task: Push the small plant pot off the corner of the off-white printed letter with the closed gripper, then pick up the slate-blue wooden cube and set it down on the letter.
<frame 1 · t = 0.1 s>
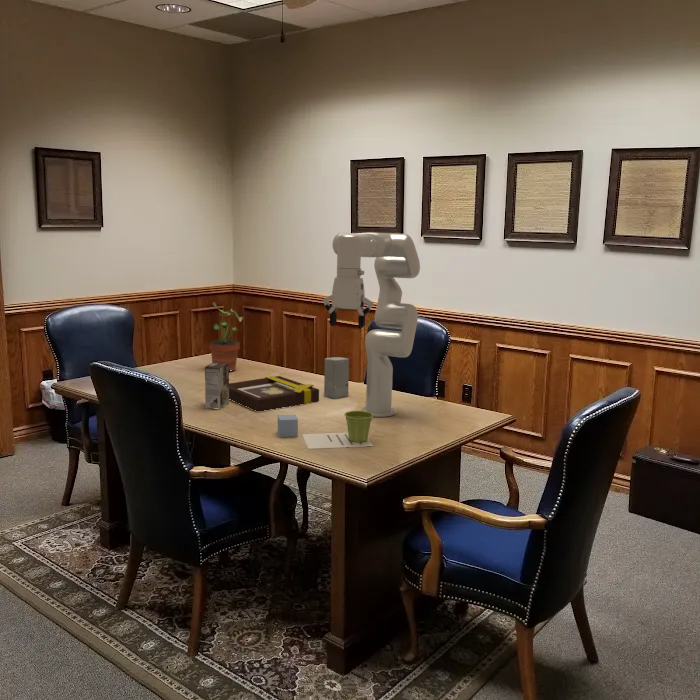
hand: (347, 326, 233), 37 cm above the table, tool pointing down, fingers open, 9 cm apart
skincare box: (336, 396, 293), on the table
coffee box: (217, 406, 273), on the table
cube: (287, 434, 241), on the table
brown gift box: (270, 400, 286), on the table
plant pot: (358, 440, 236), resting on letter
potted plant: (226, 371, 335), on the table
letter: (336, 440, 235), on the table
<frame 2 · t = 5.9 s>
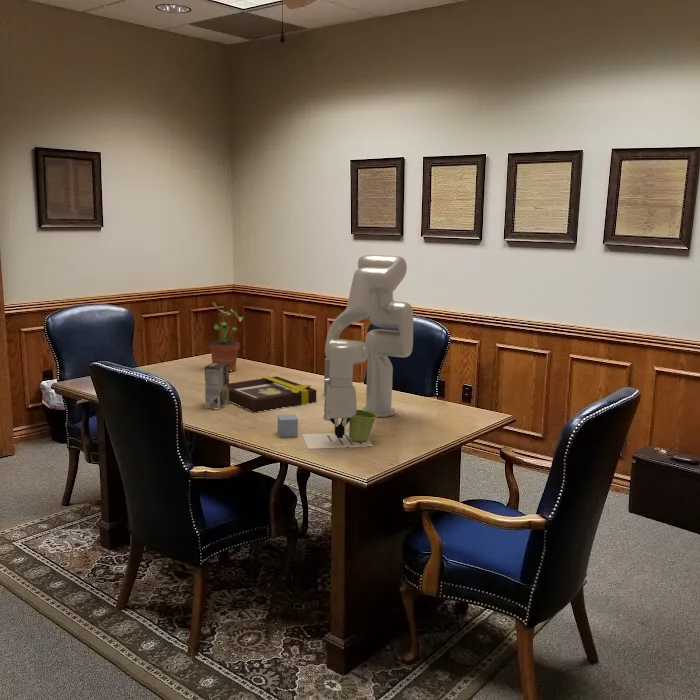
hand: (339, 437, 234), 2 cm above the table, tool pointing down, fingers closed
brown gift box: (267, 401, 285), on the table
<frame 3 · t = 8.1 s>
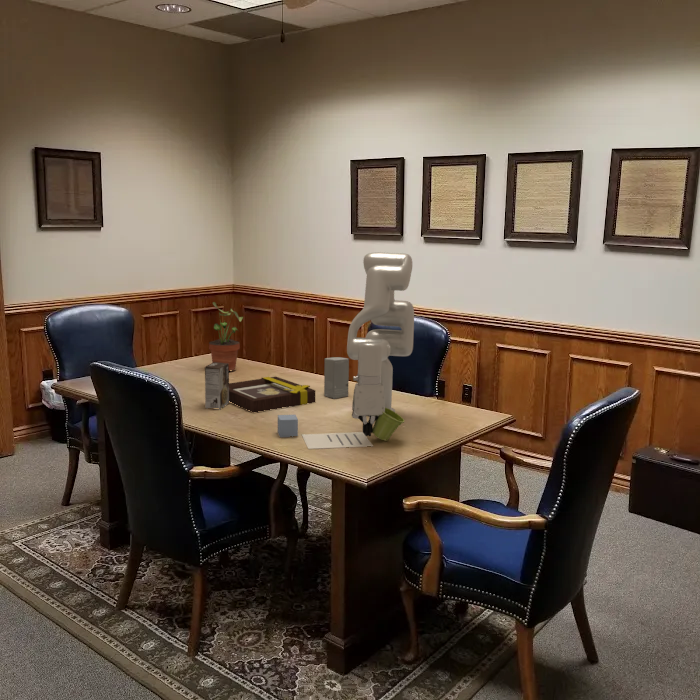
hand: (367, 434, 235), 2 cm above the table, tool pointing down, fingers closed
plant pot: (378, 436, 236), point 1 cm above the table, touching gripper
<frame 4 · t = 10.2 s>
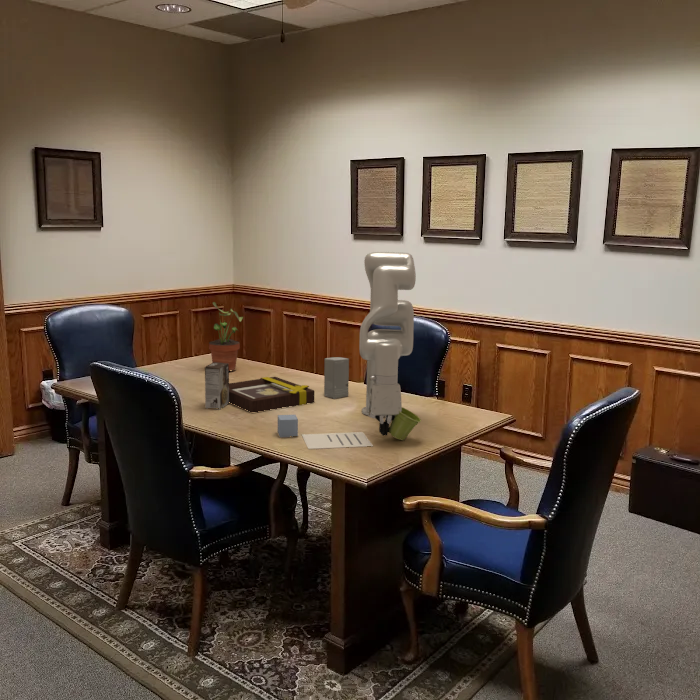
hand: (384, 434, 236), 2 cm above the table, tool pointing down, fingers closed
plant pot: (395, 436, 237), point 1 cm above the table, touching gripper
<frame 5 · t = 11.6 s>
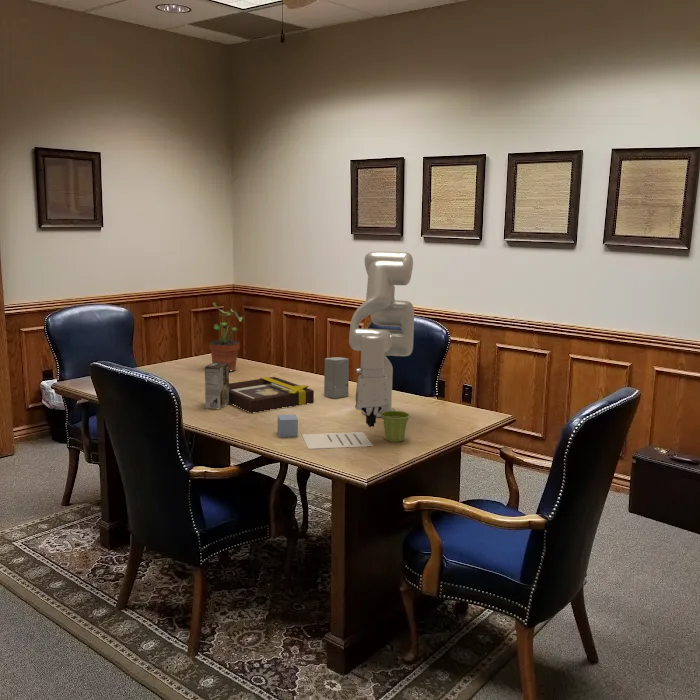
hand: (370, 425, 237), 5 cm above the table, tool pointing down, fingers closed
plant pot: (394, 440, 238), on the table
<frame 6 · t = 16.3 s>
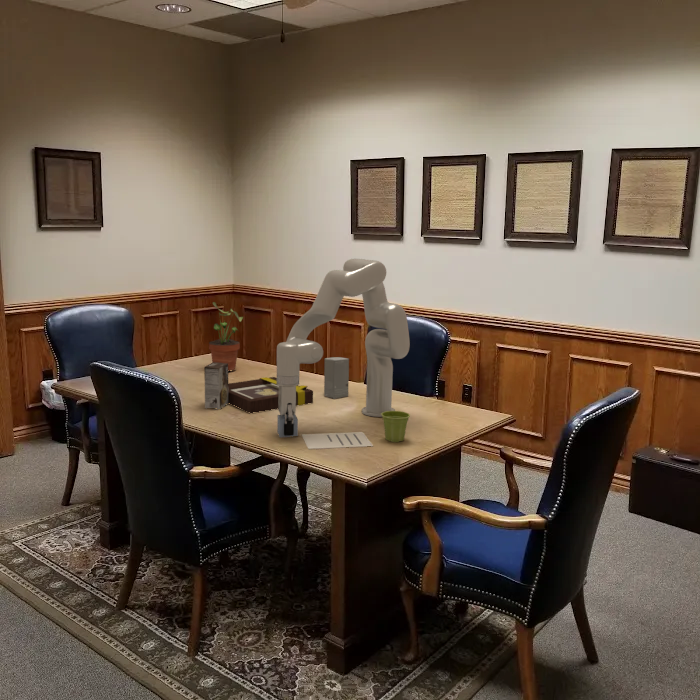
hand: (287, 431, 240), 1 cm above the table, tool pointing down, fingers closed on cube, 6 cm apart
cube: (287, 434, 241), on the table, touching gripper
when the fingers open (2 cm above the table, at t = 21.6 s): cube drops 1 cm, resting on letter.
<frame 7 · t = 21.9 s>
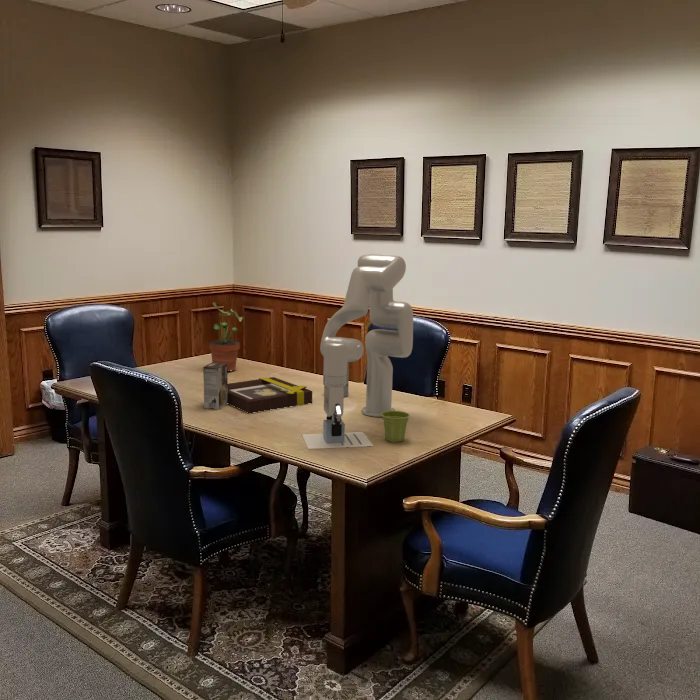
hand: (333, 431, 234), 3 cm above the table, tool pointing down, fingers open, 8 cm apart
cube: (333, 439, 235), resting on letter
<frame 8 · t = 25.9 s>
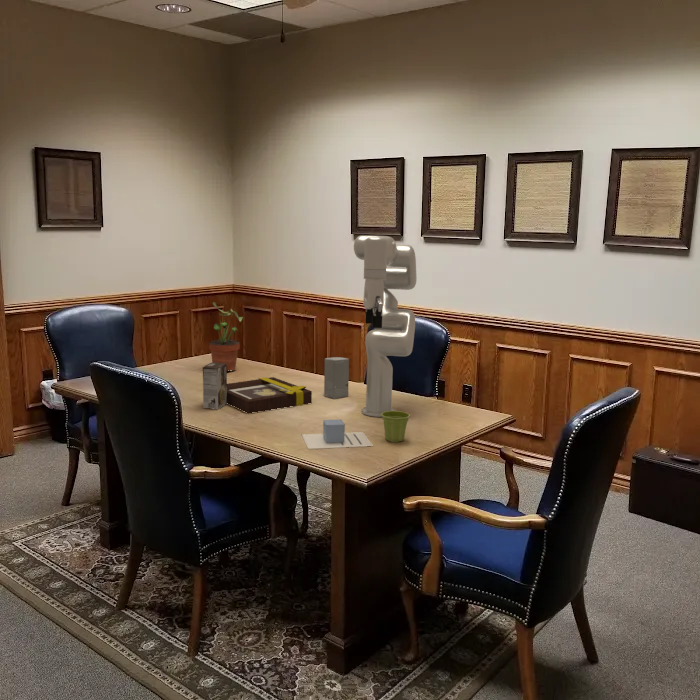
hand: (373, 325, 242), 36 cm above the table, tool pointing down, fingers open, 9 cm apart
at the end: cube inside the target area on the letter (1.0 cm from its centre), point 0.3 cm above the letter's base; cube tilted 0°; plant pot inside the target area (11.2 cm from its centre), on the table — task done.
